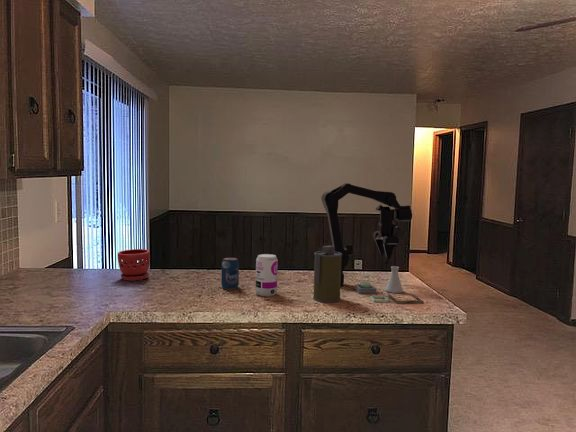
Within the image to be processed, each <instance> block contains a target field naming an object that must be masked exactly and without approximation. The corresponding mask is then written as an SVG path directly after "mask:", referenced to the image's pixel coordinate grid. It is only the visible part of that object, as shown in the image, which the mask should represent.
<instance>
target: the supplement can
mask: <svg viewBox="0 0 576 432" xmlns="http://www.w3.org/2000/svg"><path fill="white" fill-rule="evenodd" d="M278 261H279V260H278V257H277V255H276V254H270V253H262V254H258V255H257V257H256V259H255V262H256V263H255V294H257V296H261V297H272V296H275V295H276V294H277V293H278V267H279V266H278V264H279V262H278Z"/></svg>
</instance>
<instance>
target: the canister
mask: <svg viewBox="0 0 576 432" xmlns="http://www.w3.org/2000/svg"><path fill="white" fill-rule="evenodd" d="M334 248H335V246H332V245H330V244H329V245H323V246H322V248H321V250H319V251H315V252H314V253H313V255H314V264H313V265H314V267H313V270H314V271H313V272H314V273H313V296H312V299H313V300H314V301H316V302H319V303H325V304H326V303H327V304H328V303H330V304H331V303H332V304H333V303H337V302H340V301H341V257H342V253H340V252H334Z"/></svg>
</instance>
